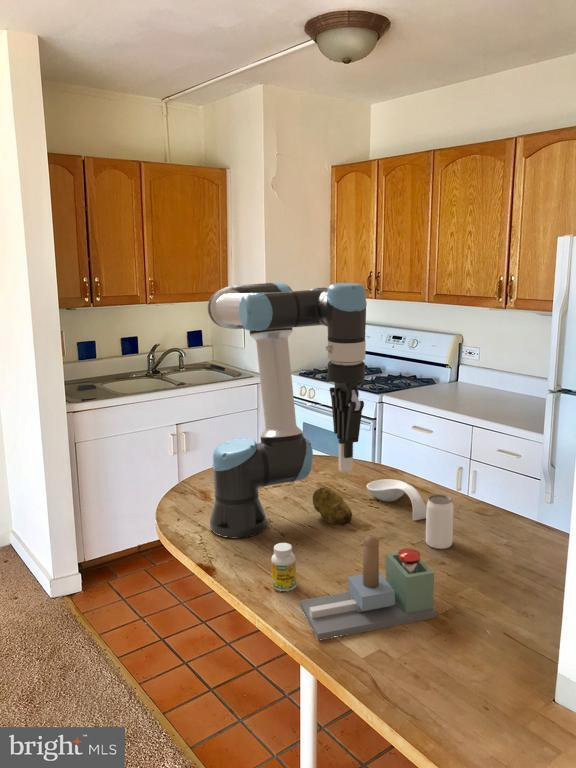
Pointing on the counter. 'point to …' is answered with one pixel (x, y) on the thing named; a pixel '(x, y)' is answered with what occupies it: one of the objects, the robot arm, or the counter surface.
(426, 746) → the counter surface
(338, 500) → the potato
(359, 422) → the robot arm
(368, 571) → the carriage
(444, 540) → the can
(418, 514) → the spoon rest
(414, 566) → the button
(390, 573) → the track
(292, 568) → the supplement bottle
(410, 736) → the counter surface
